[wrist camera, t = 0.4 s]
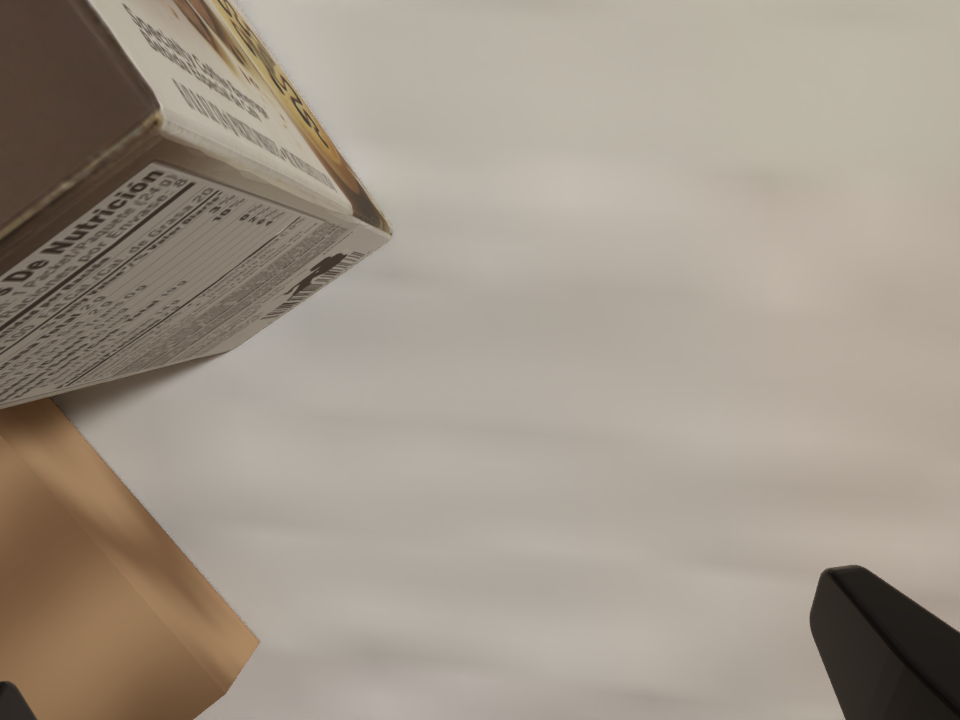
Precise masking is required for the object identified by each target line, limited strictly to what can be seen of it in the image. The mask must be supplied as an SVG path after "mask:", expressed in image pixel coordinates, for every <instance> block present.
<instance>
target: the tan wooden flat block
mask: <svg viewBox="0 0 960 720" xmlns="http://www.w3.org/2000/svg"><path fill="white" fill-rule="evenodd" d="M259 643H260V641H259V640H258V639H257V638H256V637H255V635H254V634H253V633H252V632H251V631H250V630H249V628H248V627H247V626H246V625H245V624H244V623H243V622H242V620H241V619H240V618H239V617H238V616H237V615H236V613H235V612H234V611H233V610H232V609H231V608H230V606H229V605H228V604H227V603H226V602H225V601H224V599H223V598H222V597H221V596H220V595H219V594H218V592H217V591H216V590H215V589H214V588H213V587H212V586H211V584H210V583H209V582H208V581H207V580H206V579H205V577H204V576H203V575H202V574H201V573H200V572H199V570H198V569H197V568H196V567H195V566H194V565H193V563H192V562H191V561H190V560H189V559H188V558H187V556H186V555H185V554H184V553H183V552H182V551H181V550H180V548H179V547H178V546H177V545H176V544H175V543H174V541H173V540H172V539H171V538H170V537H169V536H168V534H167V533H166V532H165V531H164V530H163V529H162V527H161V526H160V525H159V524H158V523H157V522H156V520H155V519H154V518H153V517H152V516H151V515H150V514H149V512H148V511H147V510H146V509H145V508H144V507H143V505H142V504H141V503H140V502H139V501H138V500H137V498H136V497H135V496H134V495H133V494H132V493H131V491H130V490H129V489H128V488H127V487H126V486H125V484H124V483H123V482H122V481H121V480H120V479H119V478H118V476H117V475H116V474H115V473H114V472H113V471H112V469H111V468H110V467H109V466H108V465H107V464H106V462H105V461H104V460H103V459H102V458H101V457H100V455H99V454H98V453H97V452H96V451H95V450H94V448H93V447H92V446H91V445H90V444H89V443H88V442H87V440H86V439H85V438H84V437H83V436H82V435H81V433H80V432H79V431H78V430H77V429H76V428H75V426H74V425H73V424H72V423H71V422H70V421H69V419H68V418H67V417H66V416H65V415H64V414H63V412H62V411H61V410H60V409H59V408H58V407H57V406H56V404H55V403H54V402H53V401H52V400H51V399H50V397H46V398H43V399H39V400H35V401H31V402H27V403H23V404H19V405H15V406H11V407H7V408H3V409H0V681H9V682H11V683H13V684H15V685H16V686H17V688H18V689H19V691H20V692H21V694H22V695H23V697H24V699H25V700H26V702H27V703H28V705H29V707H30V708H31V710H32V711H33V713H34V715H35V716H36V718H37V719H38V720H193V719H194V718H196V717H197V716H198V715H199V714H201V713H202V712H203V711H204V710H206V709H207V708H208V707H209V706H211V705H212V704H213V703H215V702H216V701H217V700H218V699H220V698H221V697H222V696H223V695H225V694H226V693H227V691H228V690H229V688H230V687H231V685H232V684H233V682H234V681H235V679H236V678H237V676H238V675H239V673H240V672H241V670H242V669H243V667H244V666H245V664H246V663H247V661H248V660H249V658H250V657H251V655H252V654H253V652H254V651H255V649H256V648H257V646H258V645H259Z"/></svg>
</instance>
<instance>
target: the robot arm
mask: <svg viewBox="0 0 960 720" xmlns="http://www.w3.org/2000/svg"><path fill="white" fill-rule="evenodd" d="M810 628H811V632H812V635H813V638H814V641H815V643H816V646H817V648H818V651H819V653H820V656H821V658H822V661H823V663H824V666H825V669H826V671H827V674H828V676H829V679H830V681H831V684H832V686H833V689H834V691H835V694H836V696H837V699H838V701H839V704H840V707H841V709H842V712H843V714H844V717H845V719H846V720H960V632H959V631H957V630H956V629H954V628H953V627H951V626H950V625H948V624H947V623H945V622H944V621H942V620H941V619H939V618H938V617H937V616H935V615H934V614H932V613H931V612H929V611H928V610H926V609H925V608H923V607H922V606H920V605H919V604H918V603H916V602H915V601H913V600H912V599H910V598H909V597H907V596H906V595H904V594H903V593H901V592H900V591H898V590H897V589H896V588H894V587H893V586H891V585H890V584H888V583H887V582H885V581H884V580H882V579H881V578H879V577H878V576H876V575H875V574H874V573H872V572H871V571H869V570H868V569H866V568H864V567H861V566H858V565H848V566H841V567H833V568H828V569H825V570H824V571H823V572H822V573H821V575H820V578H819V582H818V586H817V589H816V593H815V597H814V600H813V604H812V608H811V611H810ZM0 720H38V719H37V718H36V716H35V715H34V713H33V711H32V710H31V708H30V707H29V705H28V703H27V702H26V700H25V699H24V697H23V695H22V694H21V692H20V691H19V689H18V688H17V686H16V685H15V684H13V683H11V682H9V681H0Z"/></svg>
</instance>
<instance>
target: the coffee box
mask: <svg viewBox="0 0 960 720" xmlns="http://www.w3.org/2000/svg"><path fill="white" fill-rule="evenodd" d="M391 237H392V227H391V225H390V223H389V222H388V220H387V219H386V217H385V216H384V214H383V213H382V211H381V210H380V208H379V207H378V205H377V204H376V202H375V201H374V199H373V198H372V197H371V195H370V194H369V192H368V191H367V189H366V188H365V186H364V185H363V184H362V182H361V181H360V179H359V178H358V176H357V175H356V174H355V172H354V171H353V169H352V168H351V166H350V165H349V164H348V162H347V161H346V159H345V158H344V156H343V155H342V153H341V152H340V151H339V149H338V148H337V146H336V145H335V143H334V142H333V141H332V139H331V138H330V136H329V135H328V133H327V132H326V131H325V129H324V128H323V126H322V125H321V123H320V122H319V121H318V119H317V118H316V116H315V115H314V113H313V112H312V110H311V109H310V108H309V106H308V105H307V103H306V102H305V100H304V99H303V98H302V96H301V95H300V93H299V92H298V90H297V89H296V88H295V86H294V85H293V83H292V82H291V80H290V79H289V78H288V76H287V75H286V73H285V72H284V71H283V69H282V68H281V66H280V65H279V63H278V62H277V61H276V59H275V58H274V56H273V55H272V53H271V52H270V51H269V49H268V48H267V46H266V45H265V44H264V42H263V41H262V39H261V38H260V36H259V35H258V33H257V32H256V31H255V29H254V28H253V26H252V25H251V23H250V22H249V20H248V19H247V18H246V16H245V15H244V13H243V12H242V10H241V9H240V7H239V6H238V5H237V3H236V2H235V0H0V409H3V408H7V407H11V406H15V405H19V404H23V403H27V402H31V401H35V400H39V399H43V398H46V397H50V396H54V395H58V394H62V393H66V392H70V391H73V390H77V389H81V388H85V387H89V386H92V385H96V384H100V383H104V382H109V381H113V380H117V379H120V378H124V377H128V376H132V375H136V374H139V373H143V372H146V371H151V370H155V369H159V368H162V367H166V366H169V365H173V364H178V363H181V362H185V361H189V360H192V359H195V358H202V357H206V356H210V355H214V354H218V353H222V352H227V351H231V350H232V349H234V348H236V347H238V346H239V345H241V344H242V343H244V342H245V341H246V340H248V339H249V338H251V337H252V336H254V335H255V334H256V333H258V332H259V331H261V330H262V329H264V328H265V327H267V326H268V325H270V324H271V323H272V322H274V321H275V320H277V319H278V318H280V317H281V316H283V315H284V314H286V313H287V312H289V311H290V310H291V309H293V308H294V307H296V306H297V305H299V304H300V303H301V302H303V301H304V300H306V299H307V298H309V297H310V296H311V295H313V294H314V293H316V292H317V291H319V290H320V289H321V288H323V287H324V286H326V285H327V284H329V283H330V282H331V281H333V280H334V279H336V278H337V277H339V276H340V275H341V274H343V273H344V272H346V271H347V270H349V269H350V268H351V267H353V266H354V265H356V264H357V263H358V262H360V261H361V260H363V259H364V258H365V257H367V256H368V255H370V254H371V253H373V252H374V251H375V250H377V249H378V248H380V247H381V246H382V245H384V244H385V243H387V242H388V241H389V240H390V239H391Z"/></svg>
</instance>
